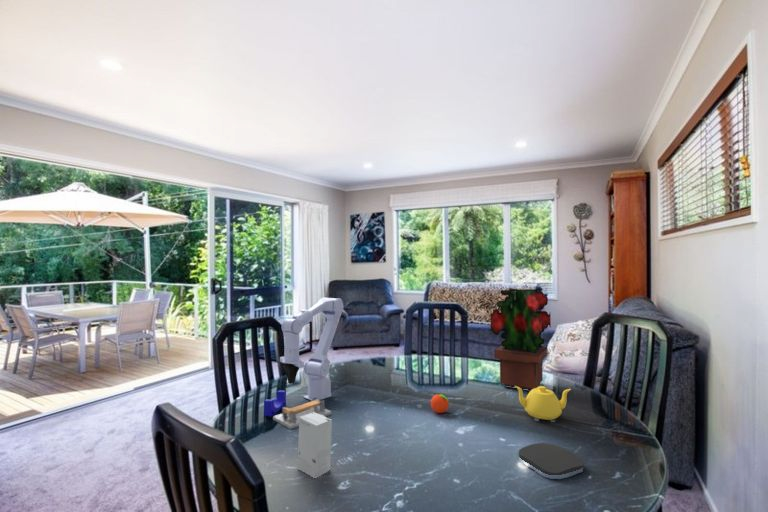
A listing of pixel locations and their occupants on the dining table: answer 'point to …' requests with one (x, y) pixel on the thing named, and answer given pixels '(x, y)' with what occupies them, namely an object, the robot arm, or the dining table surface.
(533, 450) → the media streaming box
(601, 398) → the dining table surface
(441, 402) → the clementine
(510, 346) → the potted plant
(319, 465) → the skincare box
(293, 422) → the mount
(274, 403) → the blue notched block
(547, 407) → the teapot
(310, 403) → the light brown wooden bar
